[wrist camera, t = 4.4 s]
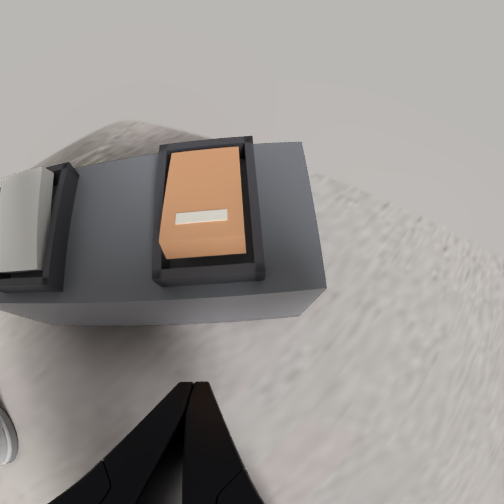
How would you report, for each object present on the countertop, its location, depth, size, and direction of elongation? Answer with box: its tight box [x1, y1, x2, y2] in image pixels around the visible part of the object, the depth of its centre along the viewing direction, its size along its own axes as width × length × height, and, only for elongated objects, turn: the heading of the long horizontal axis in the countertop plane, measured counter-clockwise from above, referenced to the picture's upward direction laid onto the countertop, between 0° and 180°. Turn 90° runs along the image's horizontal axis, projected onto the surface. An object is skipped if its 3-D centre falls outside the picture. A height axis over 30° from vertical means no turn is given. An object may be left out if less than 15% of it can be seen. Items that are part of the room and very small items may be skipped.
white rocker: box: [0, 166, 54, 273], centre depth 13 cm, size 5×3×1 cm, turn 4°
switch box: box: [0, 136, 327, 326], centre depth 18 cm, size 8×20×10 cm, turn 94°
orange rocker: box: [159, 146, 246, 259], centre depth 13 cm, size 5×3×1 cm, turn 4°
